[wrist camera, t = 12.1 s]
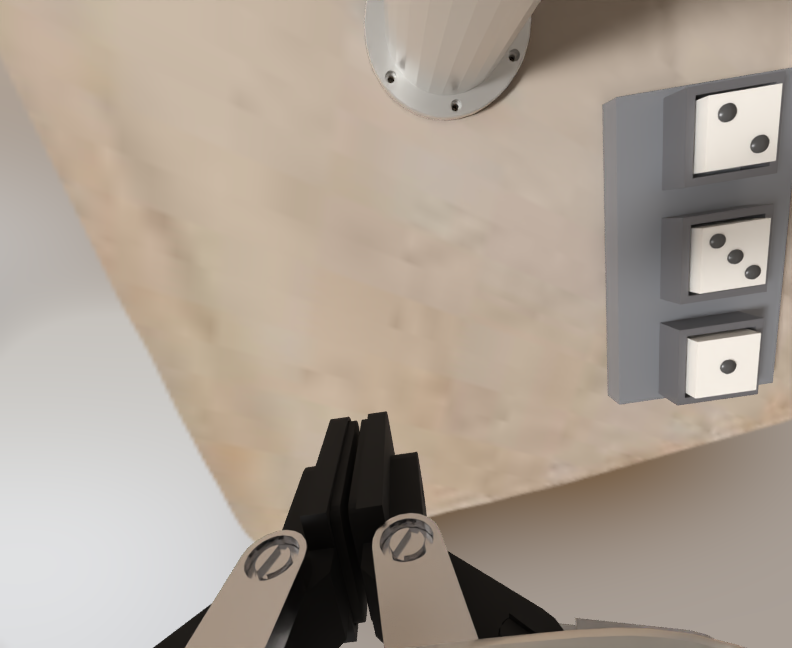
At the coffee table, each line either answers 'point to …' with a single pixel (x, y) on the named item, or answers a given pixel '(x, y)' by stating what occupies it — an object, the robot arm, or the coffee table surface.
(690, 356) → the one-dot tile
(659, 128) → the key board
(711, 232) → the three-dot tile
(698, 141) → the two-dot tile
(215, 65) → the coffee table surface
